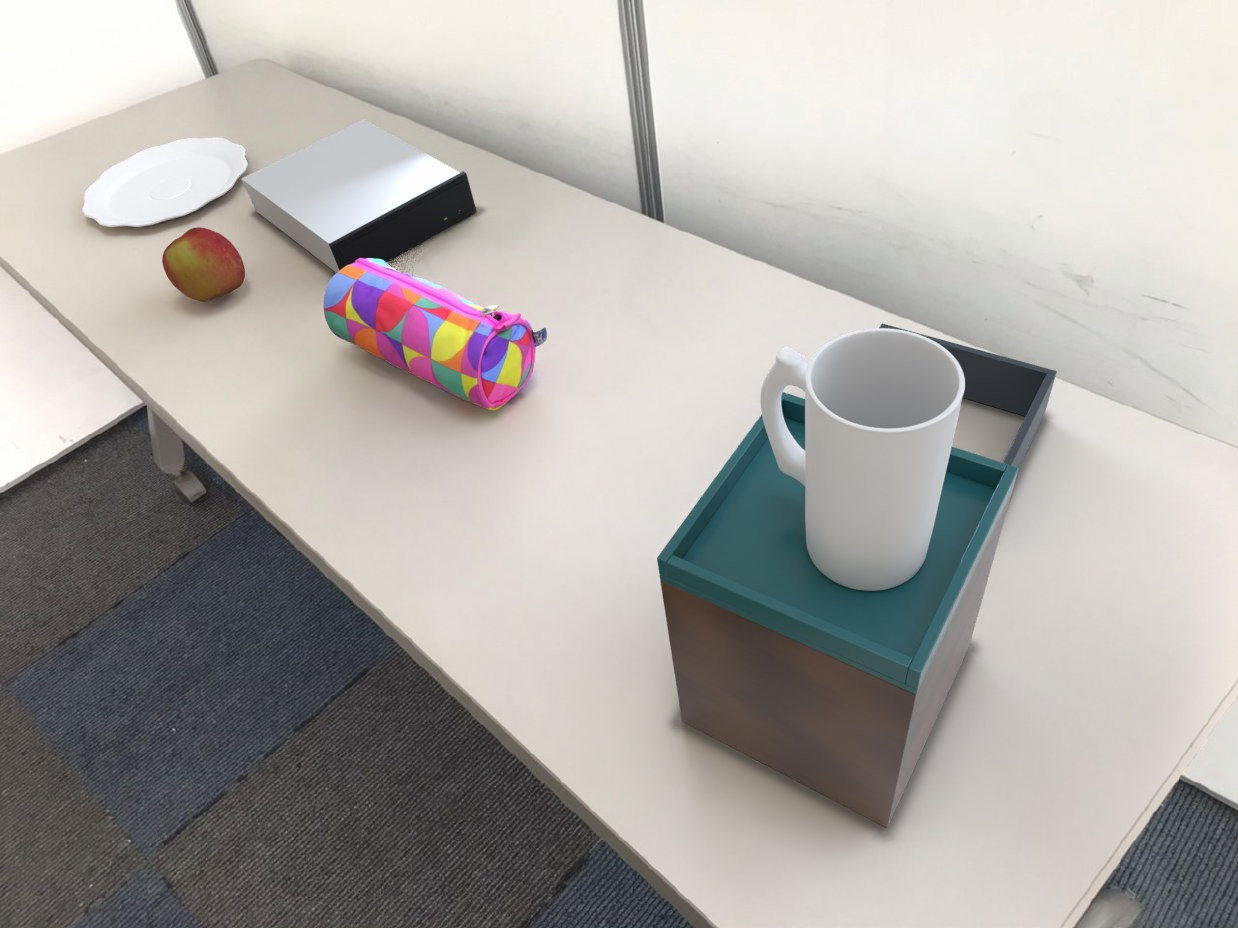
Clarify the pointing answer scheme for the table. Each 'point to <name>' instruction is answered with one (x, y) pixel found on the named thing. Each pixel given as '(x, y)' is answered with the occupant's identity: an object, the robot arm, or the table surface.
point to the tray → (801, 594)
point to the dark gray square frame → (1004, 389)
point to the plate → (164, 182)
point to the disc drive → (360, 195)
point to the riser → (813, 698)
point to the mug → (868, 449)
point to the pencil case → (432, 332)
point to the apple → (203, 264)
